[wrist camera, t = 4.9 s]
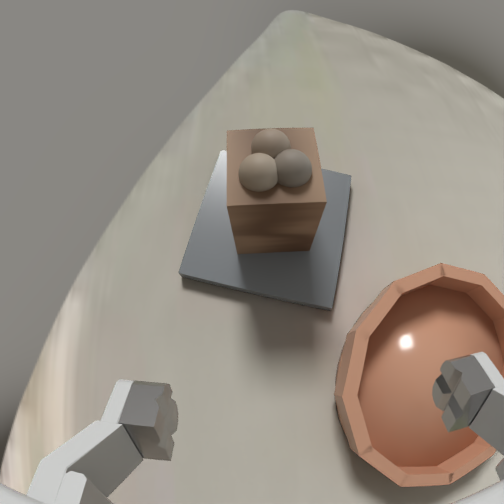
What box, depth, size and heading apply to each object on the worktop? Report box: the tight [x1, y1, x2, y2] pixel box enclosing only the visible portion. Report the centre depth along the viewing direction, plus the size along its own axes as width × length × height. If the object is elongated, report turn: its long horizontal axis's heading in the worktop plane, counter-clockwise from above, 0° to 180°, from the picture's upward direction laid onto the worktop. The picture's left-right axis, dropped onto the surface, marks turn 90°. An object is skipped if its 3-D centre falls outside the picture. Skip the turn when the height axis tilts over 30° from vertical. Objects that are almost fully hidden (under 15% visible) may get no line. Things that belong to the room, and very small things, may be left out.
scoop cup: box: [227, 128, 327, 254], centre depth 22 cm, size 6×6×9 cm
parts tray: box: [179, 150, 351, 311], centre depth 27 cm, size 12×12×1 cm
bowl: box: [334, 263, 504, 487], centre depth 20 cm, size 17×17×4 cm
